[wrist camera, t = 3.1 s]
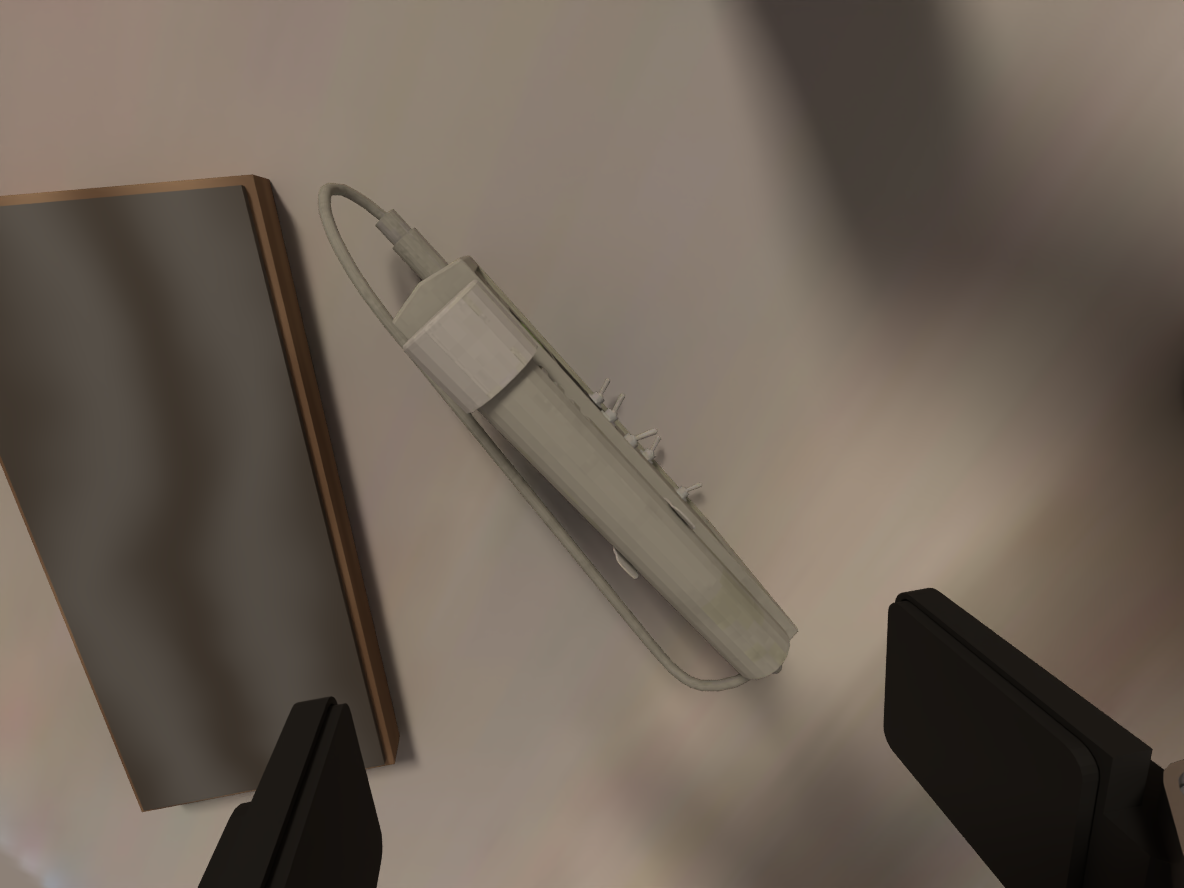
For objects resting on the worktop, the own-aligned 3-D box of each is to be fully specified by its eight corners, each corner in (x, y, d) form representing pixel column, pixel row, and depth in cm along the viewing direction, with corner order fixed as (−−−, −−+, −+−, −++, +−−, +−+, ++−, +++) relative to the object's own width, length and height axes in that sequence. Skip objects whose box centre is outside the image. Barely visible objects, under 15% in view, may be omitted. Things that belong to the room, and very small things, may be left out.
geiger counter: (868, 667, 23) (327, 51, 15) (733, 776, 24) (142, 236, 16) (729, 515, 36) (401, 143, 28) (644, 587, 37) (299, 242, 29)
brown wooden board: (269, 179, 28) (249, 173, 26) (399, 736, 37) (393, 769, 35) (-60, 208, 26) (-114, 204, 24) (161, 780, 36) (138, 818, 33)
